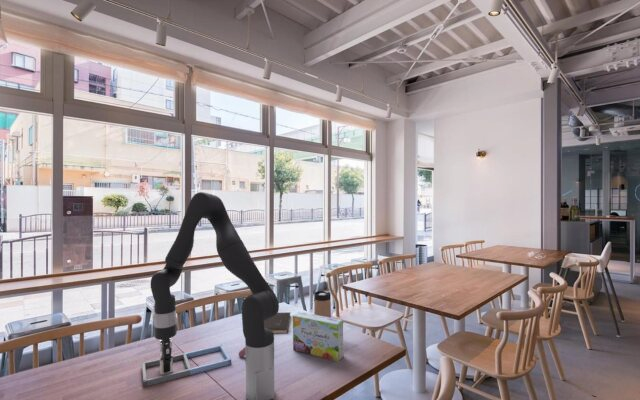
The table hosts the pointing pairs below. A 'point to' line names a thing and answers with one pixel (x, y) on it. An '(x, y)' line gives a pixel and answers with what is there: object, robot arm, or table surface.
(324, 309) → the travel mug
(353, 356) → the table surface
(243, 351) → the video game controller
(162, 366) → the grey rectangular block
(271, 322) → the hardcover book
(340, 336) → the snack box
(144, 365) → the two-cell open frame
